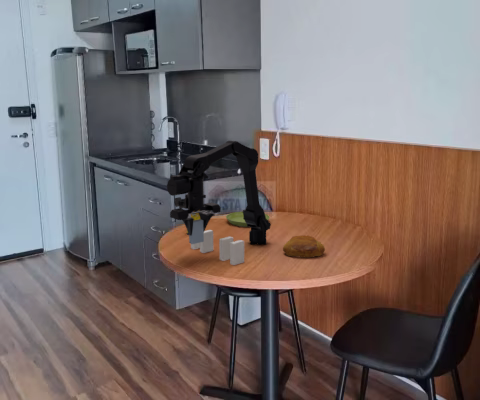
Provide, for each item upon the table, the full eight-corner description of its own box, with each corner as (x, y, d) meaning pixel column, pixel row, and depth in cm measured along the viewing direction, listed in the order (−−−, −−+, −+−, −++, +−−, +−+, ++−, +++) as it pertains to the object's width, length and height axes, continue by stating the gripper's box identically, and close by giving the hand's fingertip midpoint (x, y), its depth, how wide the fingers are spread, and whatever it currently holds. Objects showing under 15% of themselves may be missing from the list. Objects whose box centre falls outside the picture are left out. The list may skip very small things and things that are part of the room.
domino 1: (203, 241, 177) (203, 220, 176) (192, 244, 174) (192, 222, 172) (200, 240, 179) (200, 219, 177) (189, 242, 175) (188, 221, 174)
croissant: (322, 265, 178) (326, 245, 176) (280, 257, 181) (284, 237, 179) (323, 252, 192) (326, 233, 190) (284, 245, 194) (287, 226, 192)
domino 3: (213, 250, 189) (213, 230, 187) (203, 253, 186) (202, 233, 184) (210, 249, 190) (210, 229, 189) (200, 252, 187) (199, 232, 186)
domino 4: (233, 258, 180) (233, 237, 178) (223, 261, 177) (222, 240, 175) (230, 256, 182) (229, 236, 180) (219, 259, 178) (219, 238, 177)
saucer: (220, 226, 224) (220, 220, 223) (233, 216, 243) (233, 210, 242) (263, 230, 218) (263, 223, 217) (273, 219, 237) (274, 212, 236)
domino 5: (244, 262, 176) (244, 241, 174) (233, 265, 173) (233, 243, 171) (240, 260, 177) (240, 239, 176) (230, 263, 174) (229, 242, 172)
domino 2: (204, 247, 193) (203, 227, 192) (194, 249, 190) (193, 229, 188) (201, 245, 195) (200, 226, 193) (191, 248, 192) (190, 228, 190)
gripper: (202, 185, 184) (203, 225, 188) (160, 191, 172) (162, 234, 176) (221, 189, 176) (221, 231, 179) (178, 196, 164) (179, 240, 167)
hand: (196, 234), depth 176 cm, fingers closed on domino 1, 5 cm apart
